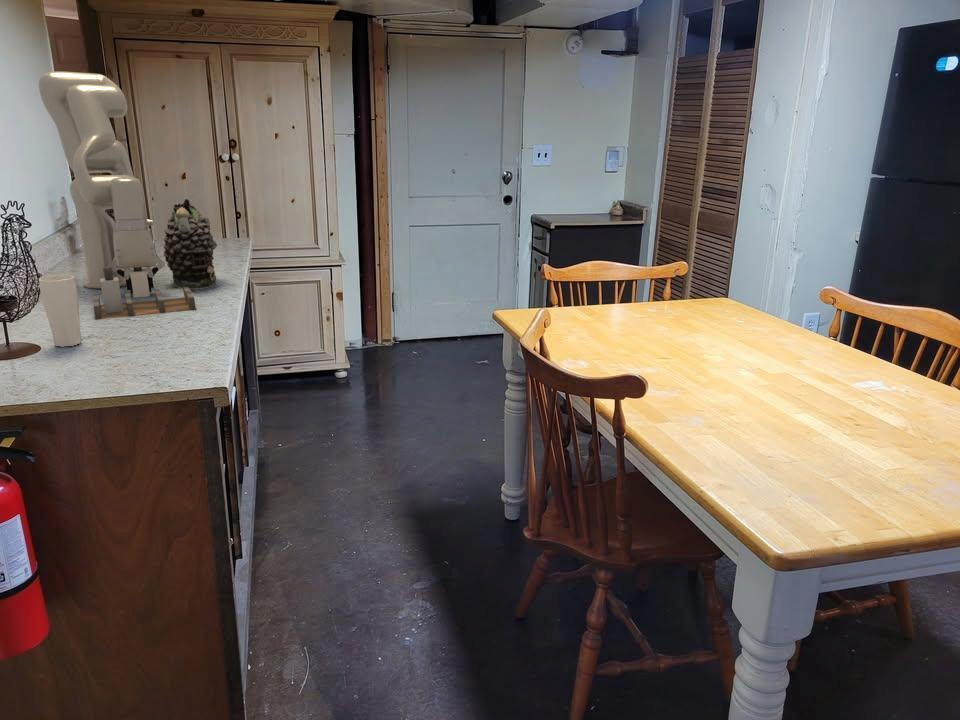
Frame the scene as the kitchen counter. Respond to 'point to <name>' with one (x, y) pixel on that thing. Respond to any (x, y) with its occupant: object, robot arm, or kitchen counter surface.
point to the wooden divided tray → (147, 305)
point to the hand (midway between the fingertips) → (140, 291)
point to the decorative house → (189, 248)
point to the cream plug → (139, 282)
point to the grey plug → (111, 292)
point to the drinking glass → (61, 308)
